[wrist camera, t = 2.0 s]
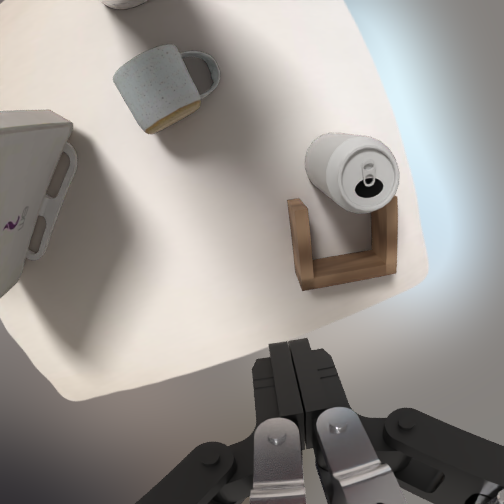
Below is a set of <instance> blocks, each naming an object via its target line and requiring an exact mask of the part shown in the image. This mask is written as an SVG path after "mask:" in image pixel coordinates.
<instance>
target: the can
mask: <svg viewBox="0 0 504 504" xmlns="http://www.w3.org/2000/svg"><path fill="white" fill-rule="evenodd" d="M305 169H306V172H307V175H308V178H309V179H310V180H311V182H312V183H313V184H314V185H315V186H316V187H317V188H318V189H320V190H321V191H322V192H323V193H325V194H326V195H327V196H328V197H329V198H331V199H332V200H333V201H334V202H336V203H337V204H338V205H339V206H341V207H342V208H344V209H345V210H346V211H350V212H353V213H356V214H363V213H370V212H373V211H375V210H378V209H380V208H383V207H384V206H385V205H386V204H388V203H389V202H390V201H391V199H392V198H393V196H394V195H395V194H396V191H397V188H398V185H399V169H398V165H397V162H396V159H395V157H394V155H393V154H392V152H391V151H390V149H389V148H388V147H387V146H386V145H385V144H384V143H382V142H381V141H380V140H377V139H375V138H372V137H369V136H361V135H353V134H345V133H328V134H324V135H321V136H320V137H318V138H317V139H316V140H314V141H313V142H312V144H311V145H310V147H309V148H308V150H307V153H306V157H305Z"/></svg>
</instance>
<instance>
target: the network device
mask: <svg viewBox="0 0 504 504" xmlns="http://www.w3.org/2000/svg"><path fill="white" fill-rule="evenodd" d="M72 129H73V123H72V122H70V121H69V120H67V119H65V118H63V117H62V116H60V115H58V114H57V113H55V112H53V111H51V110H15V111H0V298H1V297H2V296H3V295H4V294H6V293H7V292H8V291H9V290H10V289H11V288H12V287H13V286H14V285H15V284H16V283H17V282H18V280H19V278H20V277H21V274H22V271H23V267H24V263H25V259H26V258H27V259H29V260H38V259H40V258H41V257H42V256H43V255H44V254H45V251H46V249H47V245H48V242H49V239H50V236H51V233H52V231H53V228H54V225H55V222H56V219H57V217H58V214H59V211H60V209H61V206H62V203H63V201H64V198H65V196H66V193H67V191H68V188H69V186H70V184H71V181H72V179H73V177H74V174H75V172H76V169H77V164H78V158H77V154H76V151H75V149H74V148H73V146H72V145H71V144H69V143H68V142H67V141H68V139H69V136H70V134H71V132H72ZM62 152H64V153H66V154H67V155H68V156H69V158H70V166H69V168H68V171H67V173H66V175H65V178H64V180H63V183H62V185H61V188H60V190H59V193H58V195H57V196H56V197H55V198H52V197H50V196H49V195H47V194H46V192H47V189H48V186H49V184H50V181H51V178H52V176H53V173H54V171H55V168H56V166H57V164H58V161H59V159H60V156H61V154H62ZM38 216H43V217H44V218H45V220H46V229H45V232H44V235H43V238H42V241H41V244H40V247H39V251H38V253H34V252H32V251H31V250H29V249H28V247H29V244H30V240H31V237H32V234H33V230H34V227H35V224H36V221H37V218H38Z"/></svg>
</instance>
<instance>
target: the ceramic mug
mask: <svg viewBox="0 0 504 504" xmlns="http://www.w3.org/2000/svg"><path fill="white" fill-rule="evenodd" d="M185 57H198V58H201V59H203V60H204V61H205V62H206V63H207V65H208V67H209V70H210V72H211V78H212V79H213V84H212V86H211V88H210V89H209V90H208V91H206V92H205V93H203V94H200V95H199V93H198V90H197V88H196V86H195V84H194V82H193V80H192V79H191V76H190V74H189V72H188V70H187V68H186V65H185V63H184V61H183V59H182V58H185ZM219 81H220V69H219V67H218V64H217V62H216V61H215V59H214V58H213V57H212V56H210V55H209V54H207V53H204V52H201V51H185V52H181V53H179V51H178V49H177V47H176V46H175V45H173V44H166V45H161V46H158V47H155V48H152V49H150V50H147V51H145V52H143V53H141V54H139V55H137V56H136V57H134V58H133V59H131V60H130V61H128V62H127V63H125V64H124V65H123V66H121V67H120V68H119V69H118V70H117V71H116V73H115V74H114V76H113V82H114V83H115V85H116V87H117V88H118V90H119V92H120V94H121V95H122V97H123V99H124V101H125V102H126V104H127V106H128V107H129V109H130V111H131V112H132V114H133V116H134V118H135V120H136V121H137V123H138V124H139V126H140V127H141V128H142V129H143V130H144V131H145V132H146V133H147V134H154V133H157V132H159V131H161V130H162V129H164V128H166V127H168V126H170V125H172V124H174V123H176V122H177V121H179V120H181V119H183V118H184V117H186V116H188V115H190V114H191V113H193V112H195V111H196V110H198V109H199V107H200V105H201V100H200V99H202V98H204V97H206V96H207V95H209V94H210V93H211V92H212V91H213V90H215V88H216V87H217V86H218V83H219Z"/></svg>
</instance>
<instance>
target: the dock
mask: <svg viewBox="0 0 504 504" xmlns="http://www.w3.org/2000/svg"><path fill="white" fill-rule="evenodd" d="M287 202H288V210H289V219H290V227H291V236H292V245H293V254H294V263H295V273H296V275H297V278H298V281H299V283H300V286H301V288H302V291H305V290H311V289H316V288H322V287H328V286H333V285H338V284H344V283H349V282H354V281H360V280H365V279H370V278H375V277H380V276H385V275H390V274H395V273H396V267H397V235H398V205H397V196H395V195H394V196H393V198H392V199H391V201H390V202H389V203H388V204H386V205H385V206H384V207H383V208H380V209H378V210H375V211H373V212H371V231H372V250H367V251H361V252H356V253H350V254H344V255H338V256H332V257H326V258H320V259H314V260H312V249H311V237H310V227H309V216H308V208H307V207H306V206H305V205H304V204H303V202H302V201H301V200H300V199H292V200H287Z"/></svg>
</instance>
